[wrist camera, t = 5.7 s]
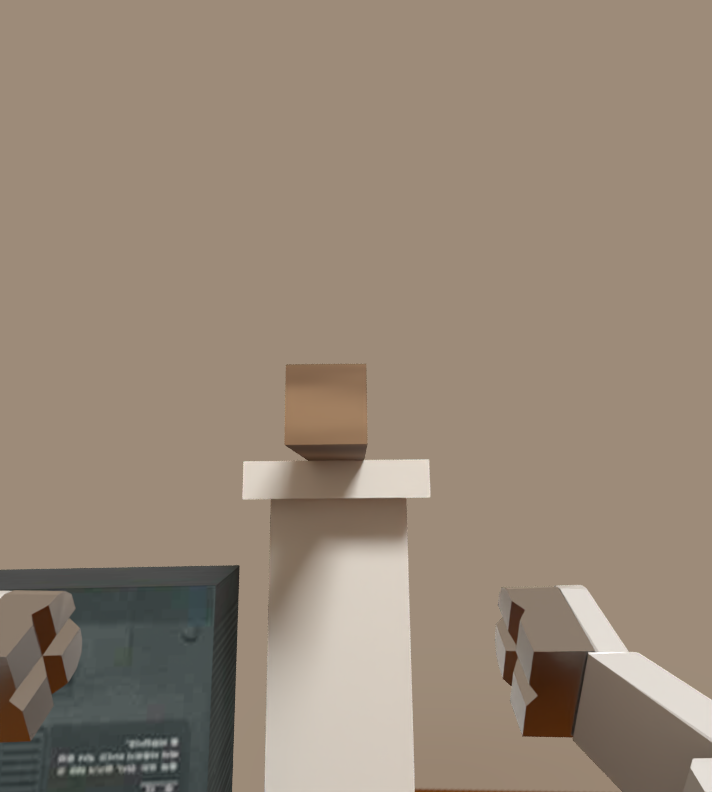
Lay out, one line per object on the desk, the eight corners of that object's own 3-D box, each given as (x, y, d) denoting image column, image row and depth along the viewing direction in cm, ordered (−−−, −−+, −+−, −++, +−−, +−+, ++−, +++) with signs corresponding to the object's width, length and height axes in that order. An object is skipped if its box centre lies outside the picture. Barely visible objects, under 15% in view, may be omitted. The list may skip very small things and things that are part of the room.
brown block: (367, 444, 18) (366, 363, 19) (284, 444, 18) (285, 364, 19) (362, 470, 40) (361, 433, 40) (324, 471, 40) (324, 433, 40)
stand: (474, 1054, 22) (447, 459, 27) (201, 1057, 22) (225, 461, 27) (429, 837, 36) (417, 470, 41) (261, 839, 36) (269, 472, 41)
